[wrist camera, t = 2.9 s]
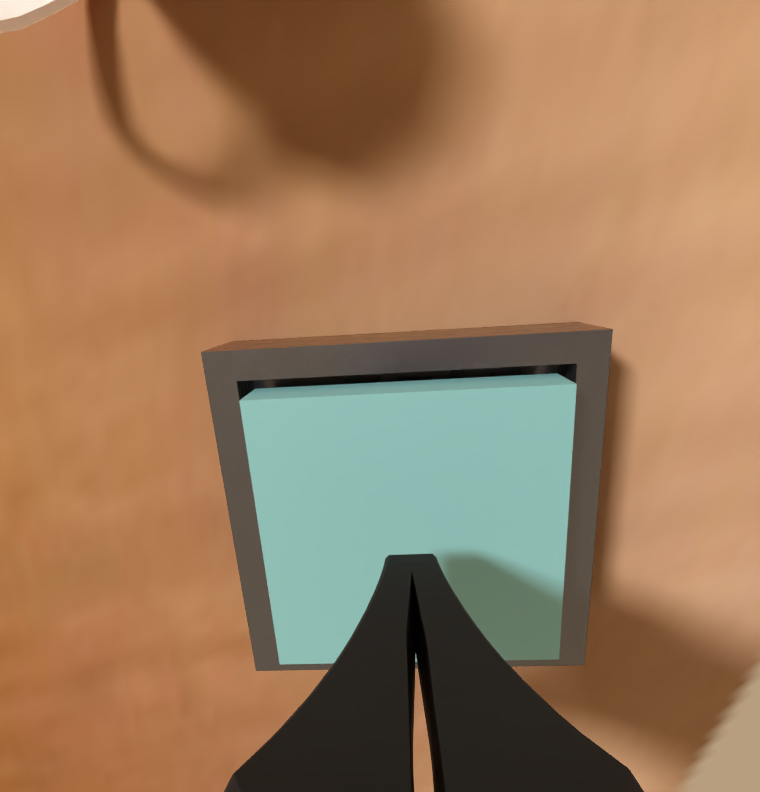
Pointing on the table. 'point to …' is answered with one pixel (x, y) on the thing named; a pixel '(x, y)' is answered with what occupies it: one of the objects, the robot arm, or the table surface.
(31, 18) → the cup
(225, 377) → the plate housing
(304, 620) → the plate
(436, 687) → the robot arm
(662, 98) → the table surface
